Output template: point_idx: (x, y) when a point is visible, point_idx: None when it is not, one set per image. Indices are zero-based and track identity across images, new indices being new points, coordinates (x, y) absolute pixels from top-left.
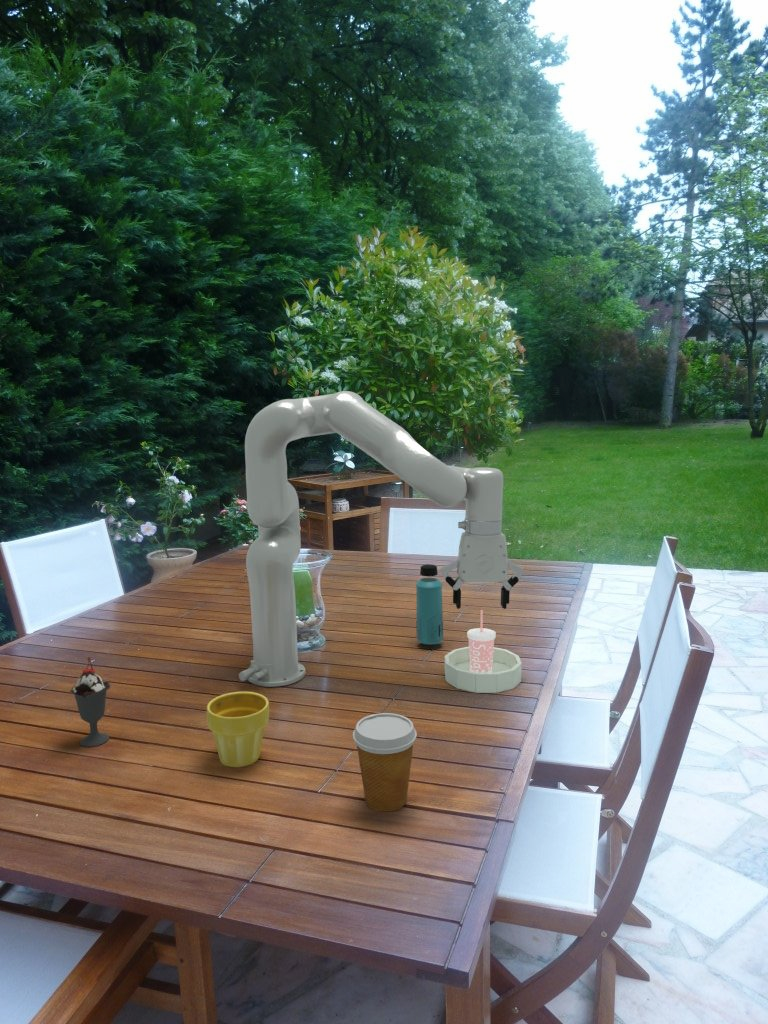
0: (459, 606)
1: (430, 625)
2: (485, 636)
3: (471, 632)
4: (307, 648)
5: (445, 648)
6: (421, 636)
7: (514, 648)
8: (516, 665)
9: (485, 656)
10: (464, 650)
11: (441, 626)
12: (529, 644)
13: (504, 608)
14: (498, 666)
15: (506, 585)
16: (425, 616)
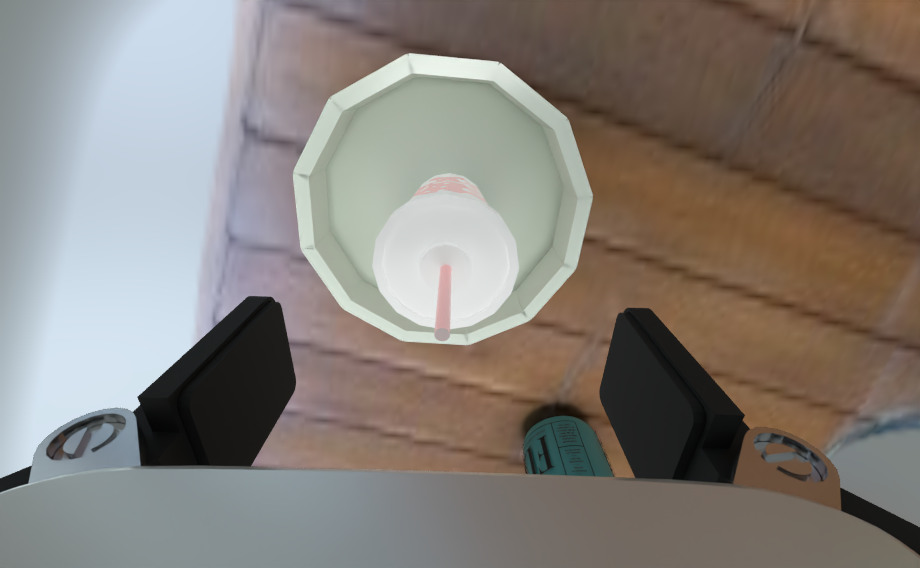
0: (637, 312)
1: (582, 465)
2: (432, 219)
3: (493, 281)
4: (883, 431)
5: (515, 411)
6: (595, 439)
7: (321, 401)
8: (315, 150)
9: (437, 186)
10: (490, 321)
11: (538, 469)
12: (276, 423)
13: (266, 297)
14: None
15: (93, 462)
16: None
